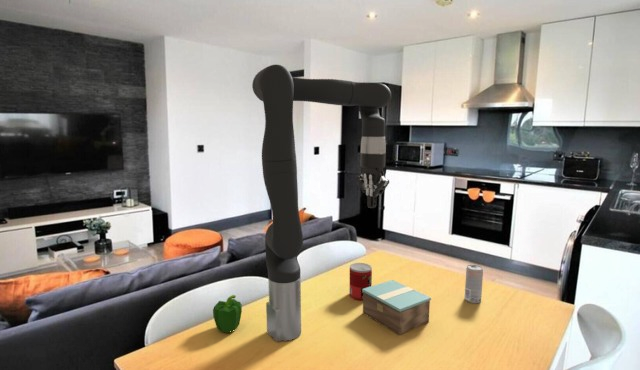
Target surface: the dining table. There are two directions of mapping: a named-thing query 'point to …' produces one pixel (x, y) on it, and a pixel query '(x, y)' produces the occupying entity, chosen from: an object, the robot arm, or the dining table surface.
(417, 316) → the box
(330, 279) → the dining table surface
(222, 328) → the bell pepper
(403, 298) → the lid
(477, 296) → the energy drink
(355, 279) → the canned food
